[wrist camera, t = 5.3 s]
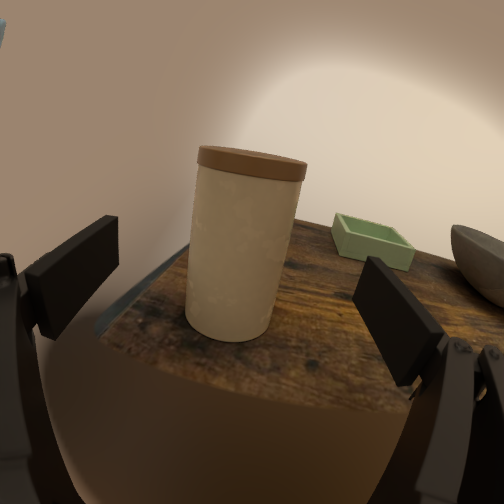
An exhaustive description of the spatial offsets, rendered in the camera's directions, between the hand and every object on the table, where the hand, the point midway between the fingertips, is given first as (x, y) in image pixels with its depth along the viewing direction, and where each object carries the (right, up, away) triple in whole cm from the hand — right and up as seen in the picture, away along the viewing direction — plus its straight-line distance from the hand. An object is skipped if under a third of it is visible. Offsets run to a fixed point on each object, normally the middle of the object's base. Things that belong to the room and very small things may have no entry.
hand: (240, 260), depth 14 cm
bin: (+18, +1, +25) cm, 30 cm away
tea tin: (-1, -4, +6) cm, 7 cm away
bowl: (+38, -6, +17) cm, 42 cm away
